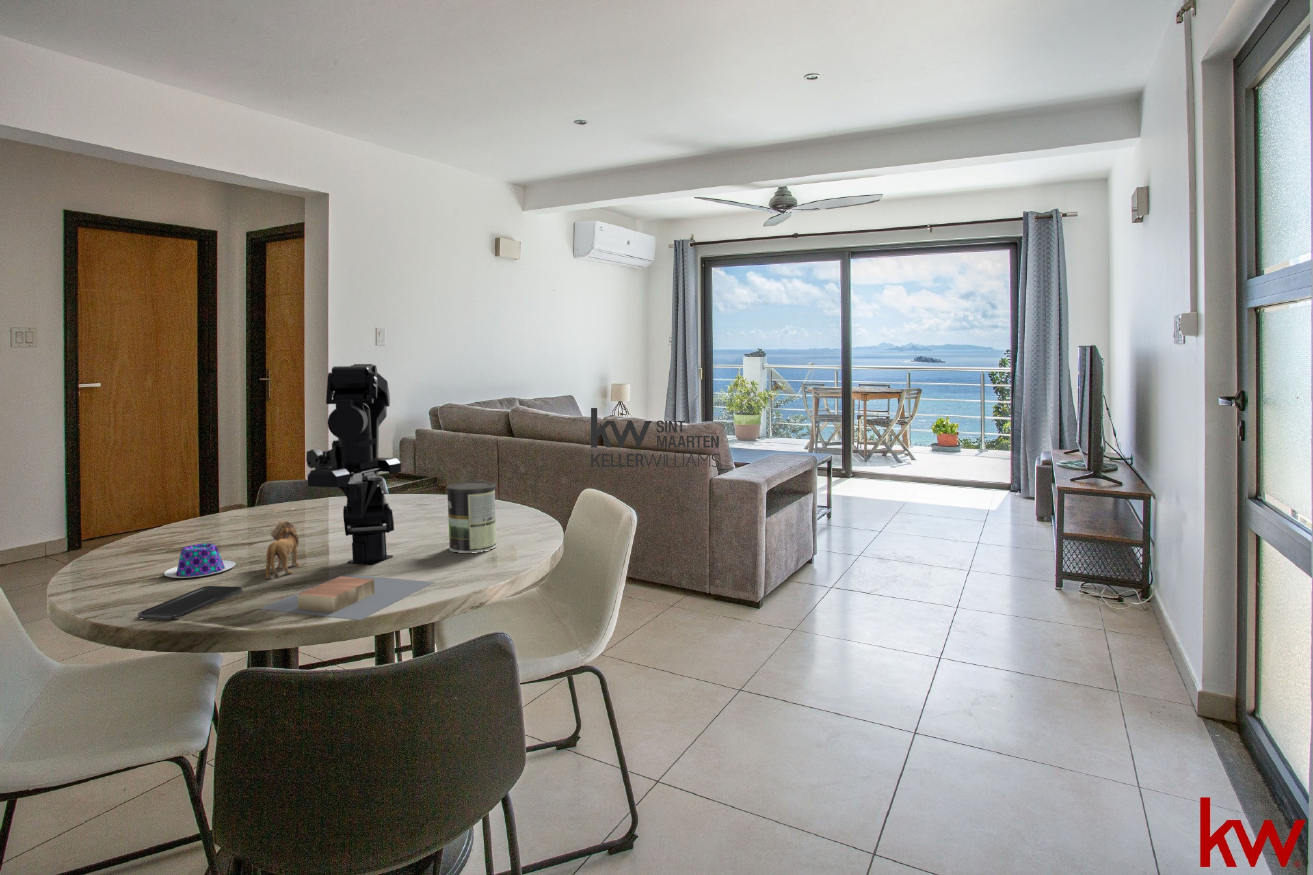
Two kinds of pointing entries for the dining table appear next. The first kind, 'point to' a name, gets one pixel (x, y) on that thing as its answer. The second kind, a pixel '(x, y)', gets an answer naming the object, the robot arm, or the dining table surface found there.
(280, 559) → the lion figurine
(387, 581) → the rubber mat
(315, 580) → the dining table surface
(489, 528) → the coffee can
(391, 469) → the robot arm
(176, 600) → the phone
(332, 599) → the maple tile
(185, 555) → the purple patterned hat
